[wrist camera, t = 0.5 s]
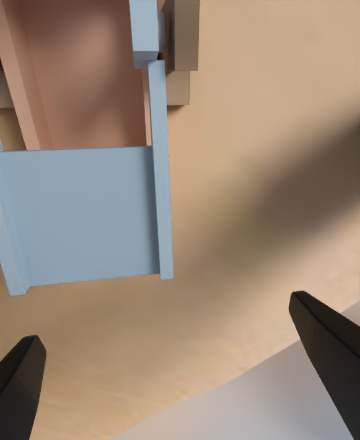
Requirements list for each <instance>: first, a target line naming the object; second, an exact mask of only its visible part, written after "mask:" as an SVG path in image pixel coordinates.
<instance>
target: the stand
mask: <svg viewBox="0 0 360 440" xmlns="http://www.w3.org/2000/svg"><path fill="white" fill-rule="evenodd" d="M199 7H200V0H157V12H163V13H164V21H165V50H164V52H158V56H157V60H165V79H166V103H167V105H189V102H190V71H198V42H199ZM0 108H15V107H14V104H13V100H12V97H11V93H10V90H9V86H8V83H7V79H6V76H5V72H4V69H3V65H2V62H1V58H0Z"/></svg>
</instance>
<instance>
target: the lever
mask: <svg viewBox="0 0 360 440" xmlns="http://www.w3.org/2000/svg"><path fill="white" fill-rule="evenodd" d="M129 6H130V19H131V32H132V46H133V59H134V69H147V78H148V94H149V111H150V127H151V144H152V145H151V146H124V147H97V148H71V149H44V150H17V151H3V148H2V144H1V140H0V263H1V267H2V270H3V274H4V277H5V281H6V284H7V288H8V291H9V295H10V296H13V295H22V294H25V293H26V291H27V290H28V288H29V287H30V286H40V285H50V284H60V283H70V282H80V281H89V280H99V279H109V278H119V277H129V276H138V275H148V274H158V273H160V277H161V280H165V279H174V276H173V252H172V227H171V202H170V177H169V153H168V128H167V103H166V79H165V60H157V56H158V52H164V50H165V21H164V13H163V12H157V0H129Z"/></svg>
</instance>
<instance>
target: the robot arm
mask: <svg viewBox="0 0 360 440" xmlns="http://www.w3.org/2000/svg"><path fill="white" fill-rule="evenodd" d="M289 313H290V315H291V318H292V320H293V322H294V325H295V327H296V329H297V332H298V334H299V336H300V339H301V341H302V344H303V346H304V348H305V350H306V353H307V355H308V357H309V359H310V361H311V362H312V364H313V366H314V368H315V369H316V371H317V373H318V375H319V377H320V379H321V381H322V382H323V384H324V386H325V388H326V390H327V391H328V393H329V395H330V397H331V399H332V401H333V402H334V404H335V406H336V408H337V410H338V411H339V413H340V415H341V416H342V419H343V421H344V422H345V424H346V426H347V428H348V430H349V431H350V433H351V435H352V437H353V439H354V440H360V326H358V325H357V324H355V323H353V322H352V321H350V320H349V319H347V318H346V317H344V316H343V315H341V314H340V313H338V312H336V311H335V310H333V309H332V308H330V307H329V306H327V305H325V304H324V303H322V302H321V301H319V300H318V299H316V298H315V297H313V296H311V295H310V294H308V293H307V292H305V291H296V292H292V294H291V297H290V303H289ZM45 361H46V349H45V347H44V345H43V344H42V342H41V340H40V338H39V337H38V336H37V335H32V336H26V337H24V338H22V339H21V340H20V341H19V342H18V343H17V344H16V346H15V347H14V348H13V349H12V350H11V351H10V352H9V353H8V354H7V355H6V356H5V357H4V358H3V359H2V360H1V361H0V440H29V438H30V435H31V431H32V427H33V423H34V419H35V416H36V412H37V408H38V403H39V398H40V392H41V386H42V380H43V373H44V367H45Z"/></svg>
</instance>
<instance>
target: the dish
mask: <svg viewBox="0 0 360 440" xmlns="http://www.w3.org/2000/svg"><path fill="white" fill-rule="evenodd" d="M0 58H1V62H2V65H3V69H4V72H5V76H6V79H7V83H8V86H9V90H10V93H11V97H12V100H13V104H14V107H15V111H16V114H17V118H18V121H19V125H20V128H21V132H22V135H23V139H24V142H25V146H26V149H27V150H44V149H71V148H97V147H124V146H151V145H152V144H151V127H150V111H149V94H148V78H147V69H134V59H133V46H132V32H131V19H130V6H129V0H0Z"/></svg>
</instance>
